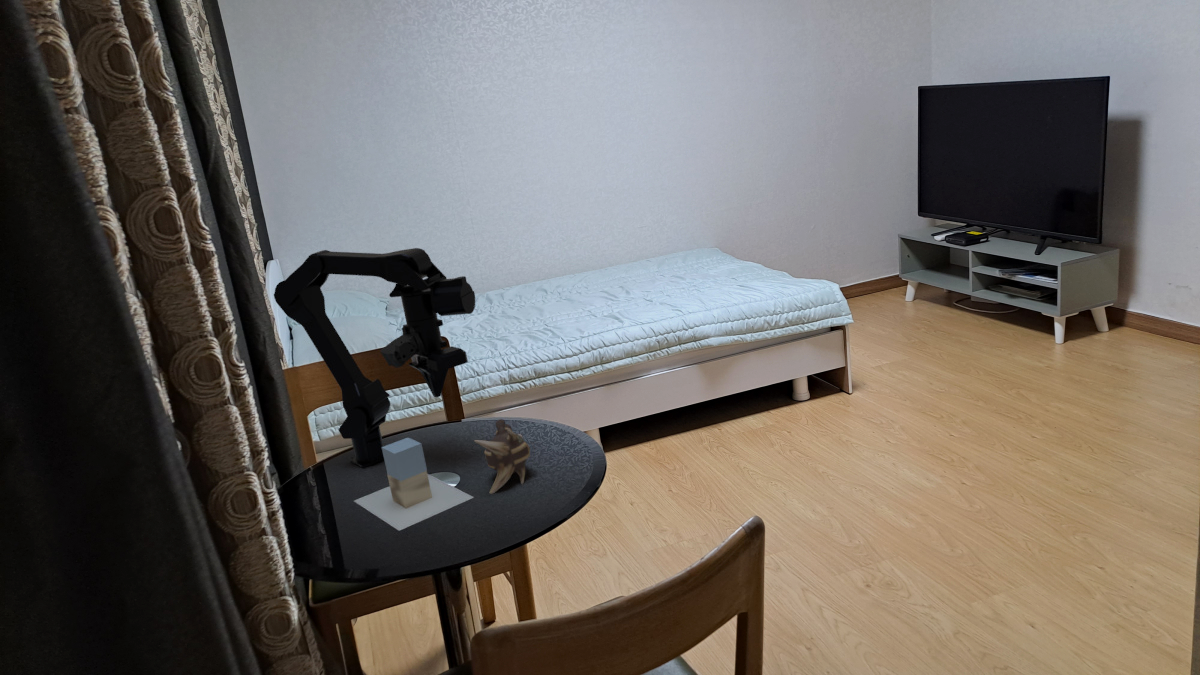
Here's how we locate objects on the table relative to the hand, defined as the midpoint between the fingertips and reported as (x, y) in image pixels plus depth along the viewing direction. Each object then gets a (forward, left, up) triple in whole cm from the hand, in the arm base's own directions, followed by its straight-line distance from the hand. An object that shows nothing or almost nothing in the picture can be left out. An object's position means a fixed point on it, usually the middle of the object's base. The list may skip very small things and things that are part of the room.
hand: (437, 396), depth 159 cm
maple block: (+12, -14, -12) cm, 22 cm away
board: (+12, -14, -12) cm, 22 cm away
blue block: (+12, -14, -7) cm, 20 cm away
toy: (+18, +2, -13) cm, 22 cm away
